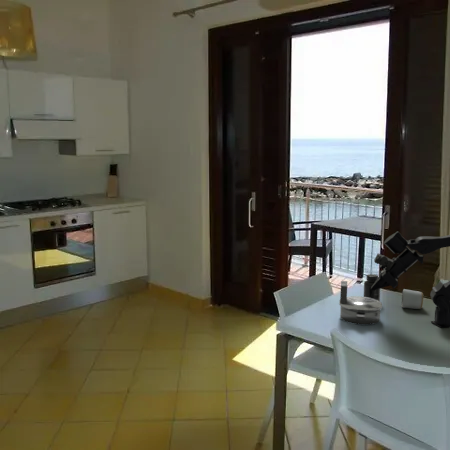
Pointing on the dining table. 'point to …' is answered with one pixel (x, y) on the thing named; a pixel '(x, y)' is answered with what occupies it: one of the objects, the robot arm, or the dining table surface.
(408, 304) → the grey rounded block
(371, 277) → the supplement bottle
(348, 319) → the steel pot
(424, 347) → the dining table surface
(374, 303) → the grey disc with post
